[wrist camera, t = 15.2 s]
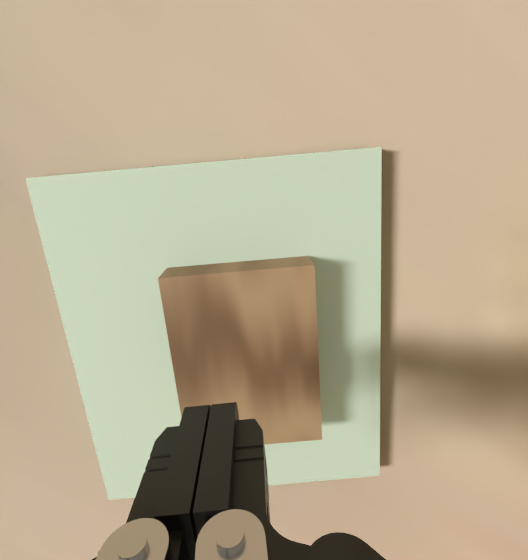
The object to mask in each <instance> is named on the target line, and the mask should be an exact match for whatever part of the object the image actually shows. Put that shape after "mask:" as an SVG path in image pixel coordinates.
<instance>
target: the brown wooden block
mask: <svg viewBox="0 0 528 560" xmlns="http://www.w3.org/2000/svg"><path fill="white" fill-rule="evenodd" d="M158 282H159V288H160V294H161V300H162V306H163V312H164V318H165V324H166V329H167V335H168V341H169V347H170V353H171V359H172V365H173V371H174V377H175V383H176V388H177V394H178V400H179V406H180V412H181V418H182V414H183V411H184V408H185V407H192V406H202V405H212V404H222V403H232V402H237V406H238V413H239V420H244V419H256V421H257V422H258V424H259V425H260V427H261V428H262V430H263V437H264V445H265V444H276V443H288V442H300V441H311V440H322V425H321V401H320V378H319V355H318V332H317V308H316V285H315V265H314V263H313V262H312V260H311V259H310V257H309V256H300V257H288V258H276V259H265V260H253V261H241V262H229V263H217V264H206V265H194V266H182V267H170V268H167V269H166V270H165V271H164V272H163V273H162V274H161V275H160V276H159V278H158Z"/></svg>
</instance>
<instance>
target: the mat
mask: <svg viewBox="0 0 528 560" xmlns="http://www.w3.org/2000/svg"><path fill="white" fill-rule="evenodd" d="M381 174H382V147H373V148H362V149H351V150H339V151H328V152H317V153H305V154H294V155H283V156H271V157H260V158H249V159H237V160H226V161H215V162H203V163H192V164H181V165H169V166H158V167H147V168H135V169H124V170H113V171H101V172H90V173H79V174H67V175H56V176H45V177H33V178H25V180H26V184H27V187H28V191H29V195H30V199H31V203H32V207H33V211H34V214H35V218H36V222H37V226H38V230H39V234H40V238H41V241H42V245H43V249H44V253H45V257H46V261H47V265H48V268H49V272H50V276H51V280H52V284H53V288H54V292H55V295H56V299H57V303H58V307H59V311H60V315H61V319H62V322H63V326H64V330H65V334H66V338H67V342H68V346H69V349H70V353H71V357H72V361H73V365H74V369H75V373H76V376H77V380H78V384H79V388H80V392H81V396H82V400H83V403H84V407H85V411H86V415H87V419H88V423H89V426H90V430H91V434H92V438H93V442H94V446H95V450H96V453H97V457H98V461H99V465H100V469H101V473H102V477H103V480H104V484H105V488H106V492H107V496H108V500H112V499H123V498H135V497H136V494H137V491H138V488H139V485H140V482H141V480H142V477H143V474H144V472H145V468H146V465H147V462H148V460H149V459H150V454H151V451H152V448H153V445H154V443H155V440H156V439H157V438H158V437H159V436H160V435H161V433H162V432H163V431H164V430H165V429H166V428H167V427H174V426H179V425H180V421H181V412H180V406H179V400H178V394H177V388H176V383H175V377H174V371H173V365H172V359H171V353H170V347H169V341H168V335H167V329H166V324H165V318H164V312H163V306H162V300H161V294H160V288H159V282H158V278H159V276H160V275H161V274H162V273H163V272H164V271H165V270H166V269H167V268H170V267H182V266H194V265H206V264H217V263H229V262H241V261H253V260H265V259H276V258H288V257H300V256H309V257H310V259H311V260H312V262H313V263H314V265H315V285H316V308H317V332H318V355H319V378H320V401H321V425H322V440H311V441H300V442H288V443H276V444H265V445H264V446H265V455H266V464H267V474H268V486H269V485H280V484H291V483H302V482H313V481H325V480H336V479H347V478H358V477H369V476H380V346H381Z"/></svg>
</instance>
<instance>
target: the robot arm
mask: <svg viewBox="0 0 528 560" xmlns="http://www.w3.org/2000/svg"><path fill="white" fill-rule="evenodd" d="M92 560H386V559H384V558H383V557H382V556H381V555H380V554H378V553H377V552H376V551H375V550H374V549H373V548H371V547H370V546H369V545H368V544H367V543H365V542H364V541H362V540H361V539H359V538H357V537H356V536H353V535H350V534H346V533H330V534H327V535H324V536H322V537H320V538H319V539H317V540H316V541H315V542H314V543H313V544H312V545H311V546H309V545H305V544H301V543H297V542H294V541H291V540H288V539H286V538H284V537H283V536H281V535H280V534H279V533H278V532H277V531H276V530H275V529H274V528H273V527H272V525H271V524H270V513H269V494H268V474H267V464H266V455H265V446H264V437H263V430H262V428H261V427H260V425H259V424H258V422H257V421H256V419H244V420H239V413H238V406H237V402H232V403H222V404H212V405H202V406H192V407H185V408H184V411H183V414H182V418H181V421H180V425H179V426H174V427H167V428H166V429H165V430H164V431H163V432H162V433H161V435H160V436H159V437H158V438H157V439H156V440H155V443H154V445H153V448H152V451H151V454H150V459H149V460H148V462H147V465H146V468H145V472H144V474H143V477H142V480H141V482H140V485H139V488H138V491H137V494H136V497H135V499H134V502H133V505H132V508H131V511H130V514H129V517H128V519H127V522H126V524H124V525H122V526H121V527H120V528H118V529H117V530H116V531H115V532H113V533H112V534H111V535H110V536H109V538H108V539H107V540H106V541H105V543H104V544H103V546H102V548H101V549H100V551H99V553H98V556H97V557H96V558H94V559H92Z"/></svg>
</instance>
